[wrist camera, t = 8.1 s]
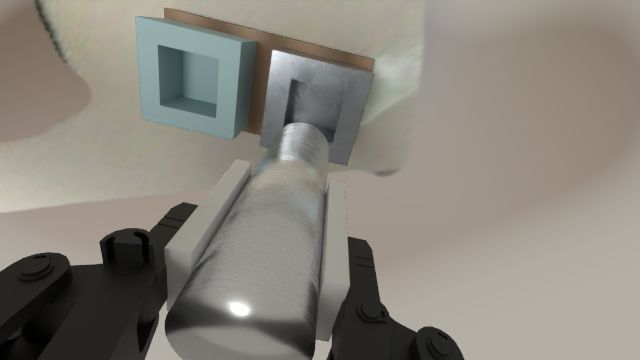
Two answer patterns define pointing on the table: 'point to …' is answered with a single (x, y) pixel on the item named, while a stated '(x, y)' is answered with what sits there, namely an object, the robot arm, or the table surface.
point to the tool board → (265, 57)
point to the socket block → (316, 98)
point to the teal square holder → (194, 76)
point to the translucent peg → (261, 262)
